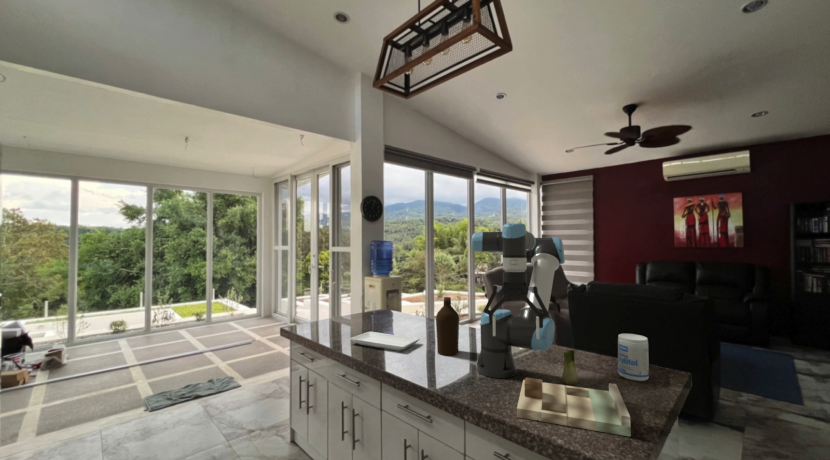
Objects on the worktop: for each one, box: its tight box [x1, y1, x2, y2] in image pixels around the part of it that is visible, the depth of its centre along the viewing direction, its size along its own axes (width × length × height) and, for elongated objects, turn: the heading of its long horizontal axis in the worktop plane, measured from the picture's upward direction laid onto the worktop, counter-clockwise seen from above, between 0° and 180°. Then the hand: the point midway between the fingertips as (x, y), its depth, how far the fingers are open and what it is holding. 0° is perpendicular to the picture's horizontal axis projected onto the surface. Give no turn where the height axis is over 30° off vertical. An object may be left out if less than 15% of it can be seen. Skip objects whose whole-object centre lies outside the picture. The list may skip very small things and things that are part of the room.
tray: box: [349, 331, 421, 352], centre depth 171 cm, size 17×31×4 cm, turn 61°
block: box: [524, 377, 543, 399], centre depth 107 cm, size 5×5×4 cm
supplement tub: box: [617, 333, 650, 382], centre depth 128 cm, size 10×10×15 cm
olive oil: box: [435, 296, 460, 357], centre depth 158 cm, size 11×11×25 cm
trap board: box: [516, 379, 632, 437], centre depth 104 cm, size 28×22×5 cm
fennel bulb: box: [561, 349, 579, 386], centre depth 121 cm, size 6×5×12 cm
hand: (515, 336), depth 112 cm, fingers open, 13 cm apart
